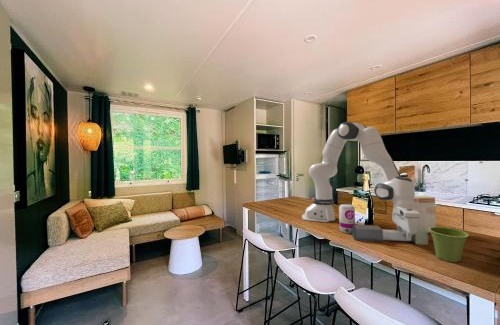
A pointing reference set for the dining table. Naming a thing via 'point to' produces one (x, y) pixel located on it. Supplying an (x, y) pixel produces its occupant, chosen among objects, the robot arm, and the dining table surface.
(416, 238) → the socket
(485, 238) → the dining table surface
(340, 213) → the supplement can
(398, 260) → the dining table surface
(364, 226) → the sleeve
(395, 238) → the slip tube
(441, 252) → the plant pot
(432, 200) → the coffeecake box
